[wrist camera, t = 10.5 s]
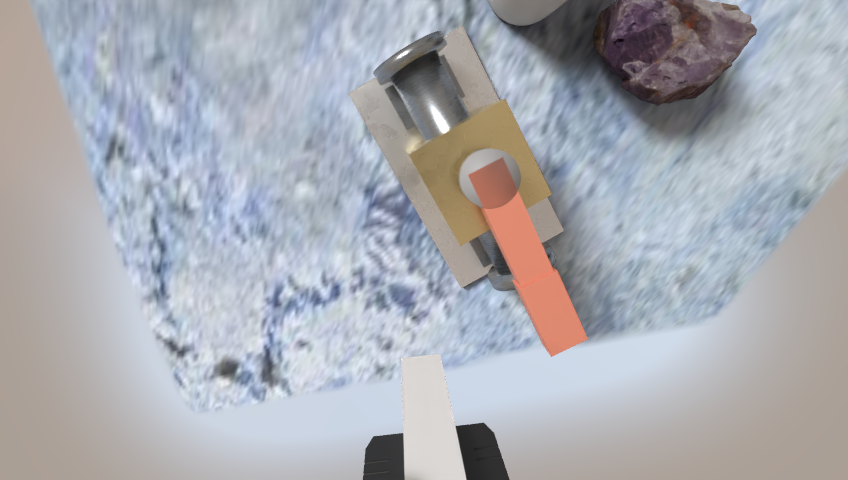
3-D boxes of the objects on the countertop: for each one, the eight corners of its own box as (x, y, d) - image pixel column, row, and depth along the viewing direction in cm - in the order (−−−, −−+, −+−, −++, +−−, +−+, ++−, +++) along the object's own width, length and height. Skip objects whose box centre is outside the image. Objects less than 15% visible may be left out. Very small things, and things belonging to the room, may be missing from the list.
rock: (592, 0, 42) (581, 110, 44) (624, -37, 33) (608, 100, 35) (721, 1, 41) (703, 113, 43) (787, -37, 32) (761, 104, 34)
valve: (460, 27, 40) (488, -18, 28) (560, 228, 45) (619, 262, 33) (349, 94, 41) (330, 77, 29) (460, 284, 46) (482, 336, 34)
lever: (448, 164, 31) (452, 166, 29) (499, 138, 30) (507, 138, 28) (536, 347, 34) (545, 359, 32) (582, 324, 34) (594, 336, 32)
